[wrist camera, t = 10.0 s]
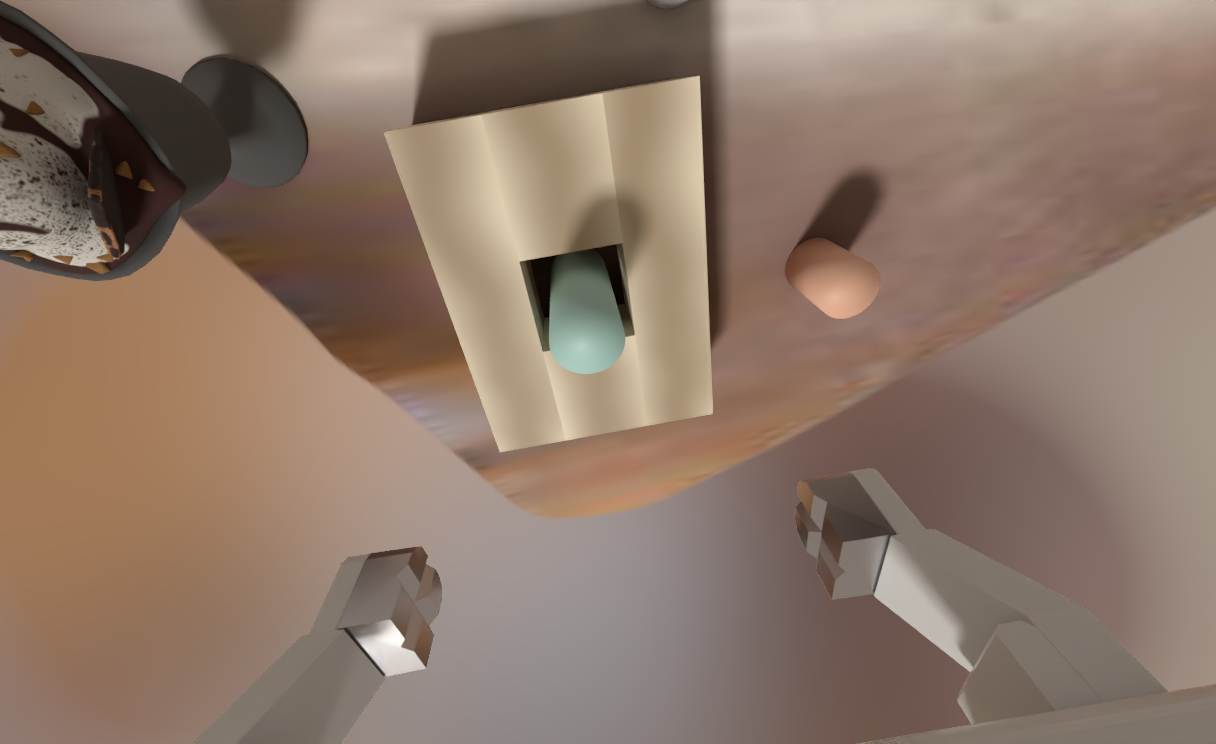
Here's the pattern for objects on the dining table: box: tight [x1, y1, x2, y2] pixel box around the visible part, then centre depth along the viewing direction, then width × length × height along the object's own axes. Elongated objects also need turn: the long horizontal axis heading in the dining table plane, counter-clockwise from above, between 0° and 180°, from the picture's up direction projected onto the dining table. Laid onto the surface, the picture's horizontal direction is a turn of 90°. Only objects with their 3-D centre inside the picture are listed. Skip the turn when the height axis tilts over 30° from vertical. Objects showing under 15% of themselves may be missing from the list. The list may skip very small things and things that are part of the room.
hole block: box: [384, 76, 713, 452], centre depth 23 cm, size 12×16×4 cm
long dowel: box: [549, 249, 625, 374], centre depth 22 cm, size 3×3×8 cm
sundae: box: [0, 1, 307, 281], centre depth 14 cm, size 7×7×15 cm
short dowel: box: [785, 238, 880, 319], centre depth 24 cm, size 3×3×4 cm
